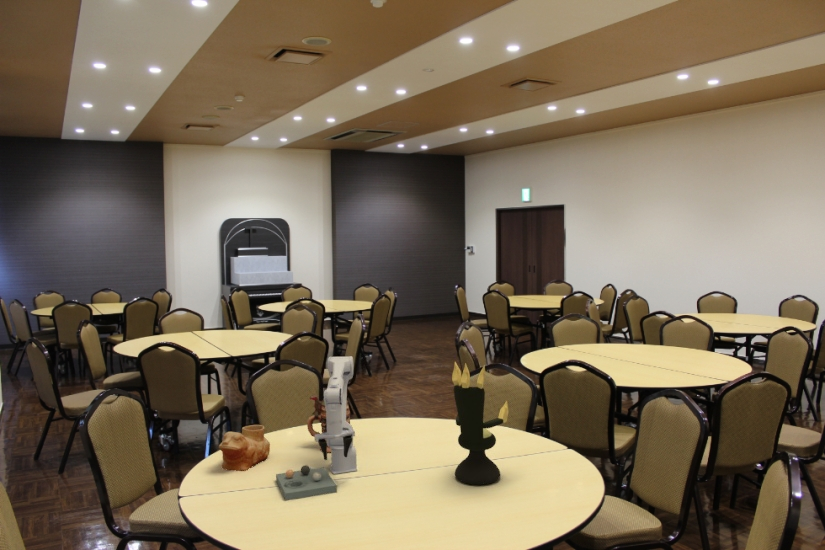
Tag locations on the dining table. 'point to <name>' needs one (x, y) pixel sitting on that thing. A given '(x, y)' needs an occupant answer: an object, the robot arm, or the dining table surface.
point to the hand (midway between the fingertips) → (335, 457)
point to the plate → (305, 484)
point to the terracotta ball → (289, 473)
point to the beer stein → (322, 417)
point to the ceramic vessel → (244, 448)
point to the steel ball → (316, 476)
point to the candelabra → (475, 429)
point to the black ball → (305, 470)
